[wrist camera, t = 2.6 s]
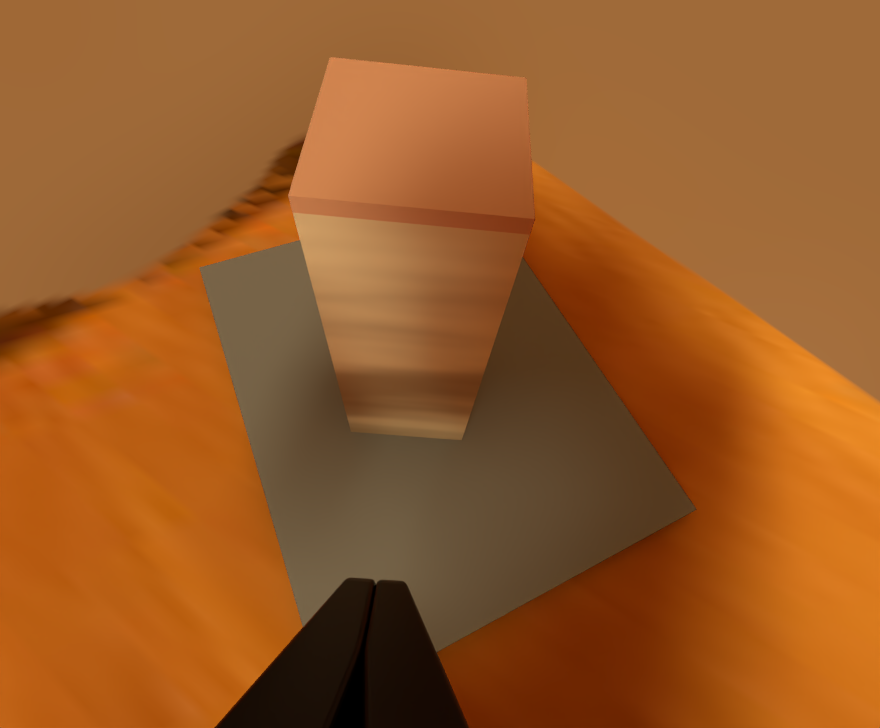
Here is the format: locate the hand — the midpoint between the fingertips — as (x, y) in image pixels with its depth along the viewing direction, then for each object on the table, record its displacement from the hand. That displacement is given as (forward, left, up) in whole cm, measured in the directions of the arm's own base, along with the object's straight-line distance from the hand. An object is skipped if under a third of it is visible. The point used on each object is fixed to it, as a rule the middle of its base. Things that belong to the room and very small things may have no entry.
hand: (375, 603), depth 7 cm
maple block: (+4, +8, -11) cm, 14 cm away
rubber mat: (+5, +8, -11) cm, 14 cm away
